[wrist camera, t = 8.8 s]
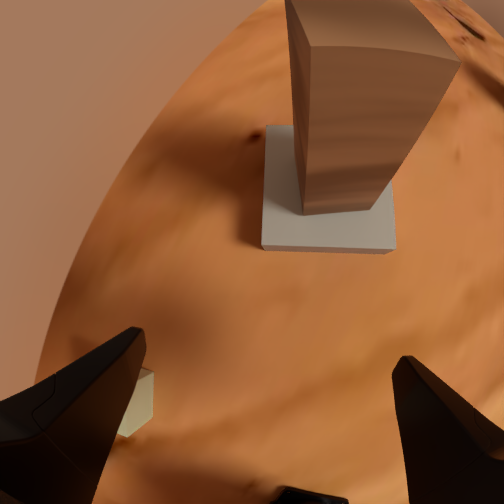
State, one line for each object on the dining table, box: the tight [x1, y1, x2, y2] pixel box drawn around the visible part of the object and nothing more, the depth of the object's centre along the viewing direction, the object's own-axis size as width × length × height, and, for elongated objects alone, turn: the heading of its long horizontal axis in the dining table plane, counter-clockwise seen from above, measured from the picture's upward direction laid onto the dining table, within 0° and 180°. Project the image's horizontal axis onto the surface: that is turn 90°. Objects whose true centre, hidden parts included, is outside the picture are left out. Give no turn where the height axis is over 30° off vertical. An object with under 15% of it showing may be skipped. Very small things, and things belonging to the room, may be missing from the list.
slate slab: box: [261, 125, 396, 254], centre depth 20 cm, size 9×9×3 cm
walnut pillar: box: [285, 0, 462, 216], centre depth 12 cm, size 4×4×13 cm
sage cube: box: [117, 368, 154, 437], centre depth 18 cm, size 4×4×4 cm
